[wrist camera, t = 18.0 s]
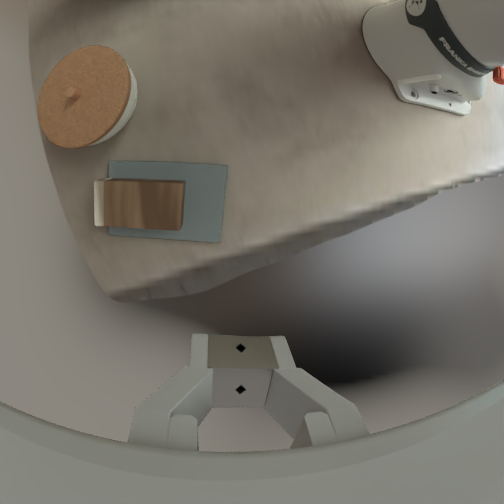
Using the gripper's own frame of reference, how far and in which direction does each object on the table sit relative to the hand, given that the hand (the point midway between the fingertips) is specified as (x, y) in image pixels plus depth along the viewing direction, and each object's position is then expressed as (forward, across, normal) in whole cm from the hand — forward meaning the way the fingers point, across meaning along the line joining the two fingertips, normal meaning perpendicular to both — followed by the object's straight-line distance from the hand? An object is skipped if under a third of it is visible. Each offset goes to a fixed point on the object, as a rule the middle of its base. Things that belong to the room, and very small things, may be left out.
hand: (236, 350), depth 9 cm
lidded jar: (+25, +15, -12) cm, 32 cm away
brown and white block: (+23, +4, 0) cm, 23 cm away
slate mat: (+25, +7, 0) cm, 26 cm away
